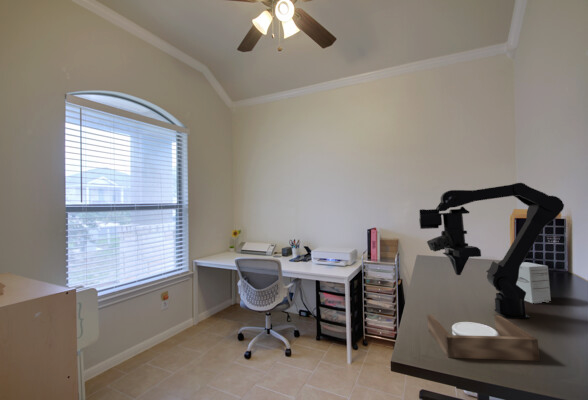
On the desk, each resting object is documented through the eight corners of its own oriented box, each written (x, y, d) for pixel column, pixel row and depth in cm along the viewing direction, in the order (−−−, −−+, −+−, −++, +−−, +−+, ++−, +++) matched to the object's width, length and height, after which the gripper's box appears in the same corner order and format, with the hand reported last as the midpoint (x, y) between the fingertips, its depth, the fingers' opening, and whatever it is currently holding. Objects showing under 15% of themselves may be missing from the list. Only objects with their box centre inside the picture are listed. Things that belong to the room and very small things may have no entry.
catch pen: (501, 332, 73) (499, 315, 73) (539, 360, 59) (537, 339, 59) (428, 330, 76) (427, 314, 76) (448, 357, 62) (447, 337, 62)
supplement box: (513, 297, 100) (510, 263, 100) (531, 296, 100) (528, 261, 101) (532, 304, 92) (528, 266, 93) (552, 302, 93) (548, 265, 94)
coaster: (478, 356, 62) (477, 340, 62) (443, 338, 72) (442, 324, 72) (510, 348, 65) (509, 333, 65) (473, 331, 74) (472, 318, 75)
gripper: (419, 227, 101) (422, 270, 100) (440, 230, 82) (445, 282, 81) (450, 226, 100) (454, 268, 99) (479, 228, 81) (484, 281, 80)
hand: (458, 274), depth 90 cm, fingers closed
